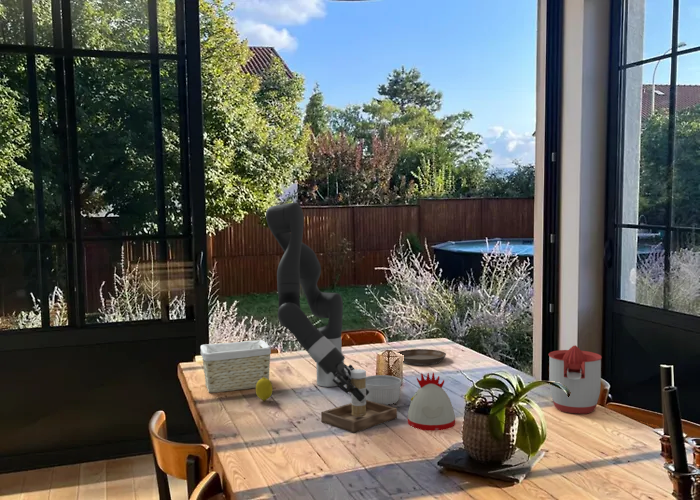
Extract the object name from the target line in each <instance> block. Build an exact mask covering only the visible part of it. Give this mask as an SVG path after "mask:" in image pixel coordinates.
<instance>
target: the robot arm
mask: <svg viewBox="0 0 700 500" xmlns="http://www.w3.org/2000/svg"><path fill="white" fill-rule="evenodd" d="M265 219H266V222H267V227H268V229H269V230H270V231H271V234H272V235H273V236H274V237H273V238H274V239H275V240H276V242H277V243H278V244H279V247H280V248H281V249H282V251H283V255H282V257H281V259H280V261H279V263H278V266H277V270H276V281H277V283H276V285H277V295H278V310H277V318H278V322H279V324H280V325H281V326H282V327H284V328H286V329H287V331H289V332H290V333H291V334H292V335H293V336H295V339H296V340H297V343H299V344H300V346H301V347H302V348H303V349H304V350H305V351H306V352H307V353H308V355H309V356H310V358H311V359H312V360H313V362H315V365H316V384H317V385H318V386H320V387H323V388H324V387H325V388H327V387H328V388H330V387H339V388H340V389H341V390H342V391H344V392H345V394H346V393H347V394H348V393H349V394H351V393H352V394H353V395H354V396H355V397H356V398H357V400H358V401H362V400H363V399H364V398H365V396H364V395H363V393H362V392H361V391H360V390H359V389H358V388H356V386H355V384H354V383H353V379H352V378H351V371H352V370H355V367H354V366H353V365H352V364H349V365H347V364H346V363H345V359H346V357H345V355H344V354H343V353H342V351H343V350H342V348H343V347H342V331H343V311H344V304H343V297H342V296H341V294H340V293H338V292H322V291H321V290H320V289H319V287H318V281H319V279H320V276H321V273H322V267H321V263H320V261H319V259H318V256H317V254H316V253H315V251H314V250H313V249H312V248H311V247H310V246H309V245H307V244H306V243H304V242H303V234H304V226H305V225H304V223H305V222H304V221H305V220H304V219H305V218H304V212H303V209H302V206H301V205H300V204H299V203H298V202H289V203H282V204H277V205H276V204H275V205H272V206H269V207H268V208H267V210H266V211H265ZM301 289H302V291H303V293H304V296H305V298H306V302H307V304H308V307H309V309H310V311H311V314H312V315H314V317H316V318H319V319H328V323H327V324H326V325H324V326H320V327H319V328H318V327H316V325H314V324H313V323H312V322H311V320H310V318H308V317H307V315H306V314H305V312H303V310H302V309H301V301H300V292H301ZM368 394H369V391H368V390H367V389H366V396H367V395H368Z"/></svg>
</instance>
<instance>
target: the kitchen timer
mask: <svg viewBox="0 0 700 500" xmlns="http://www.w3.org/2000/svg"><path fill="white" fill-rule="evenodd" d="M420 378H421V380H420V379H419V378H418V377H416V381H417V383H418V385H419V386H420V387H419V388H418V389H417V390H416V391H415V394H414V395H413V396H412V397H411V398H410V405H409V407H408V412H407V424H408V426H410V427H411V426H412V428H413V427H414V428H413V429H416V428H417V430H419V431H436V432H437V431H438V432H439V431H445V430H449V429H452V428H453V427H455V425H456V413H455V410H454V406H453V404H452V401H451V398H450V397H449V395H448V393H447V392H446V390H444V389H443V386H444V384H445V379H443V380H442V382H441V383H439V382H440V375H438V376H437V378H436V377H435V373H434V372H432V374H431V379H430V374H429V372H427V375H426V379H425V378H424V374H423V373H421V374H420ZM435 378H436V379H435Z"/></svg>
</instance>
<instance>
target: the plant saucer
mask: <svg viewBox="0 0 700 500" xmlns="http://www.w3.org/2000/svg"><path fill="white" fill-rule="evenodd" d="M396 353H400V354H402V355H404V364H407V365H410V366H411V365H412V366H431V365H436V364H439V363H441V362H443V360H444V359H445V357H446V356H447V353H446V351H442V350H437V349H430V348H429V349H428V348H414V349H403V350H400V351H397V352H396Z"/></svg>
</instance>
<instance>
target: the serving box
mask: <svg viewBox="0 0 700 500" xmlns="http://www.w3.org/2000/svg"><path fill="white" fill-rule="evenodd" d="M320 414H321V415H320V416H321V422H322V423H323V424H326V425H328V426H329V425H330V426H332V427H335V428H337V429H340V430H344V431H347V432H350V433H352V434H356V433H359V432H361V431H364V430H368V429H370V428H373V427H376V426H378V424H379V425H381V423H382V424H384V422H385V423H387V421H388V422H389V421H392V420H396V419H397V418H398V408H396V407H393V406H389V405H383V404H379V403H376V402H372V401H369V400H366V415H365V416H361V417H357V416H353V415H352V402H350V403H346V404H344V405H340V406H337V407H333V408H331V409H326V410H324V411H320ZM395 418H396V419H395ZM375 425H376V426H375Z"/></svg>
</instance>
